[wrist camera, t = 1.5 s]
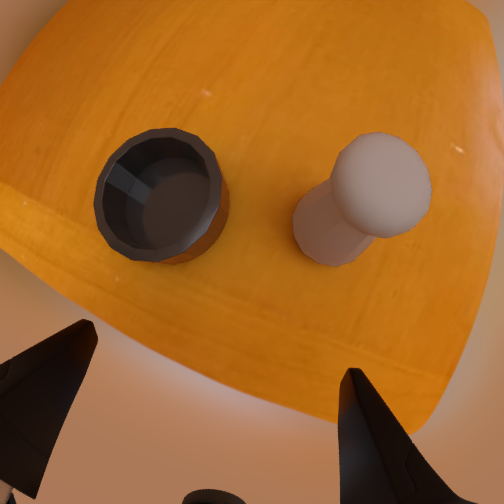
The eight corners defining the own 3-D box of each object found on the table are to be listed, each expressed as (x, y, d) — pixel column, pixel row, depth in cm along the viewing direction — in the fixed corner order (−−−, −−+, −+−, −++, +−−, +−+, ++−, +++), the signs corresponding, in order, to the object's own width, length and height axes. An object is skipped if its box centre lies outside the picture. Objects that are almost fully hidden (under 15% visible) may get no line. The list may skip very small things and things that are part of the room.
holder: (246, 241, 23) (241, 232, 18) (136, 279, 23) (109, 280, 18) (210, 136, 24) (199, 109, 19) (112, 177, 24) (86, 160, 19)
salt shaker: (345, 278, 22) (435, 278, 9) (278, 250, 23) (295, 215, 10) (369, 211, 22) (461, 149, 10) (305, 183, 23) (344, 87, 10)
